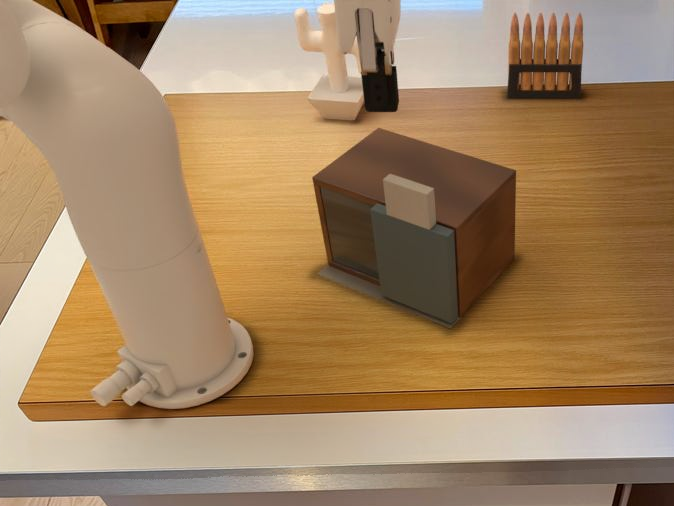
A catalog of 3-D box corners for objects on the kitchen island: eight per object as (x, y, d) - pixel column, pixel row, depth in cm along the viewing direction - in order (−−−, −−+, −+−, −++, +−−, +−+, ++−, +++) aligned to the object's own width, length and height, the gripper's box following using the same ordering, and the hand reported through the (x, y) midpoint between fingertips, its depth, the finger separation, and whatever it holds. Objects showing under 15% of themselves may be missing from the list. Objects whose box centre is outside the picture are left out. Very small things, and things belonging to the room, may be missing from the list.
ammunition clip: (507, 98, 119) (508, 15, 111) (507, 92, 121) (508, 10, 112) (580, 98, 119) (587, 15, 111) (580, 92, 120) (586, 10, 112)
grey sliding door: (451, 324, 85) (445, 200, 74) (381, 295, 88) (365, 173, 77) (458, 317, 85) (452, 194, 75) (387, 289, 89) (372, 167, 78)
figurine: (368, 127, 114) (355, 19, 103) (303, 122, 115) (284, 15, 105) (381, 102, 119) (370, -3, 109) (319, 98, 120) (302, -7, 110)
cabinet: (450, 329, 85) (445, 238, 76) (317, 275, 91) (299, 186, 83) (514, 259, 93) (516, 170, 85) (388, 214, 99) (378, 127, 91)
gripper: (331, -122, 74) (354, 73, 87) (301, -66, 63) (333, 147, 76) (414, -122, 74) (425, 74, 87) (398, -66, 63) (414, 147, 76)
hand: (382, 107), depth 81 cm, fingers closed
